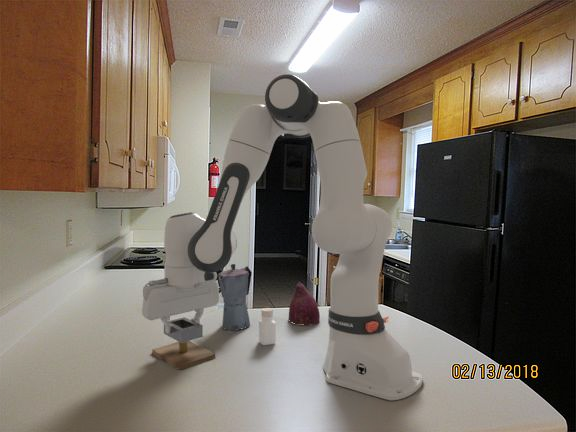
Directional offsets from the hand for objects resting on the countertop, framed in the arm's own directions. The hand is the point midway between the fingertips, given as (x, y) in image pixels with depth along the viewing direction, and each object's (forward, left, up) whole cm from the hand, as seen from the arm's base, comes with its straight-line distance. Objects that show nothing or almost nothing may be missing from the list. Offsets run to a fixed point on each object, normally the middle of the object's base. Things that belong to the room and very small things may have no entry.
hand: (182, 329), depth 98 cm
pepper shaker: (-9, -21, -7) cm, 24 cm away
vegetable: (-3, -43, -7) cm, 44 cm away
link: (0, 0, -2) cm, 2 cm away
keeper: (0, 0, -7) cm, 7 cm away
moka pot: (+9, -24, -7) cm, 26 cm away
